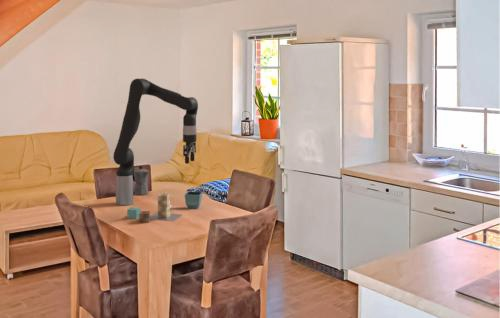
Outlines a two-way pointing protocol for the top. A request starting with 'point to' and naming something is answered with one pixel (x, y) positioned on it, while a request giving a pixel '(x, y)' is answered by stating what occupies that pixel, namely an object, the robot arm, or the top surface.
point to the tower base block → (164, 212)
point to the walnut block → (144, 217)
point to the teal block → (133, 212)
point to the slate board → (171, 218)
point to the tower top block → (163, 200)
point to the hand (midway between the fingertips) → (189, 162)
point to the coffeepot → (140, 181)
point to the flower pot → (193, 199)
